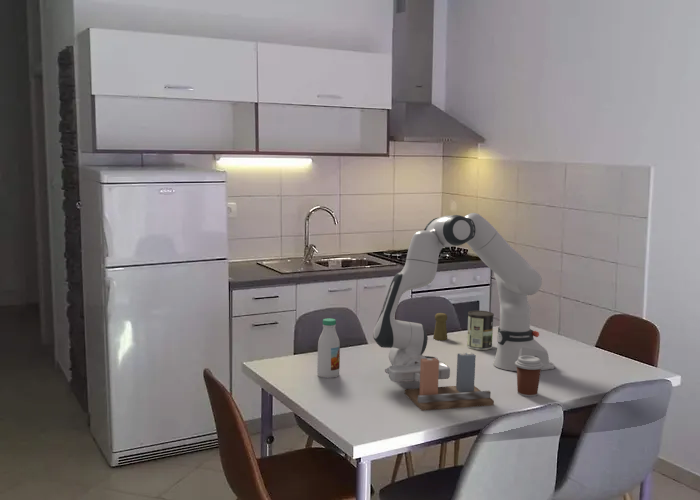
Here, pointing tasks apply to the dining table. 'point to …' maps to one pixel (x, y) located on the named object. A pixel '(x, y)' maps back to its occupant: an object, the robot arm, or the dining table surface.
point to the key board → (450, 398)
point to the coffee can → (480, 330)
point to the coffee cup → (528, 375)
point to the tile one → (429, 376)
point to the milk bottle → (328, 350)
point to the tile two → (465, 372)
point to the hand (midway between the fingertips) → (427, 379)
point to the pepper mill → (440, 327)
